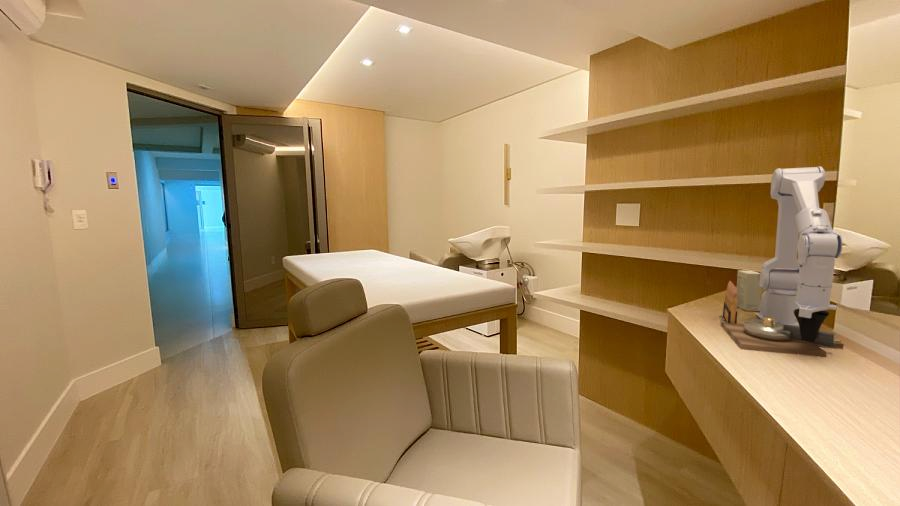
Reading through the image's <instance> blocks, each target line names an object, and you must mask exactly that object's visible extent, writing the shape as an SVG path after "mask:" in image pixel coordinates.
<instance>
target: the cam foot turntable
mask: <svg viewBox="0 0 900 506" xmlns="http://www.w3.org/2000/svg"><path fill="white" fill-rule="evenodd" d="M775 320H776V319H775V318H772V317H763V320H762V319H746V320H745V321H744V322H743V323H744V331H745V332H746V333H748V334H751V335H753V336H757V337H761V338H765V339H771V340H792V339H794V340H799V341H804V340H802V338H801V334H800V327H798V326H793V325H787V324H783V323H779V322H775ZM835 339H836V333H835V332H829V331H825V330H820V329H819V332H818V335H817V337H816V339H815V341H814V342H809V341H804V342H809V343H813V344H818V345H823V346H828V347H833V346H834V341H835Z"/></svg>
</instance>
